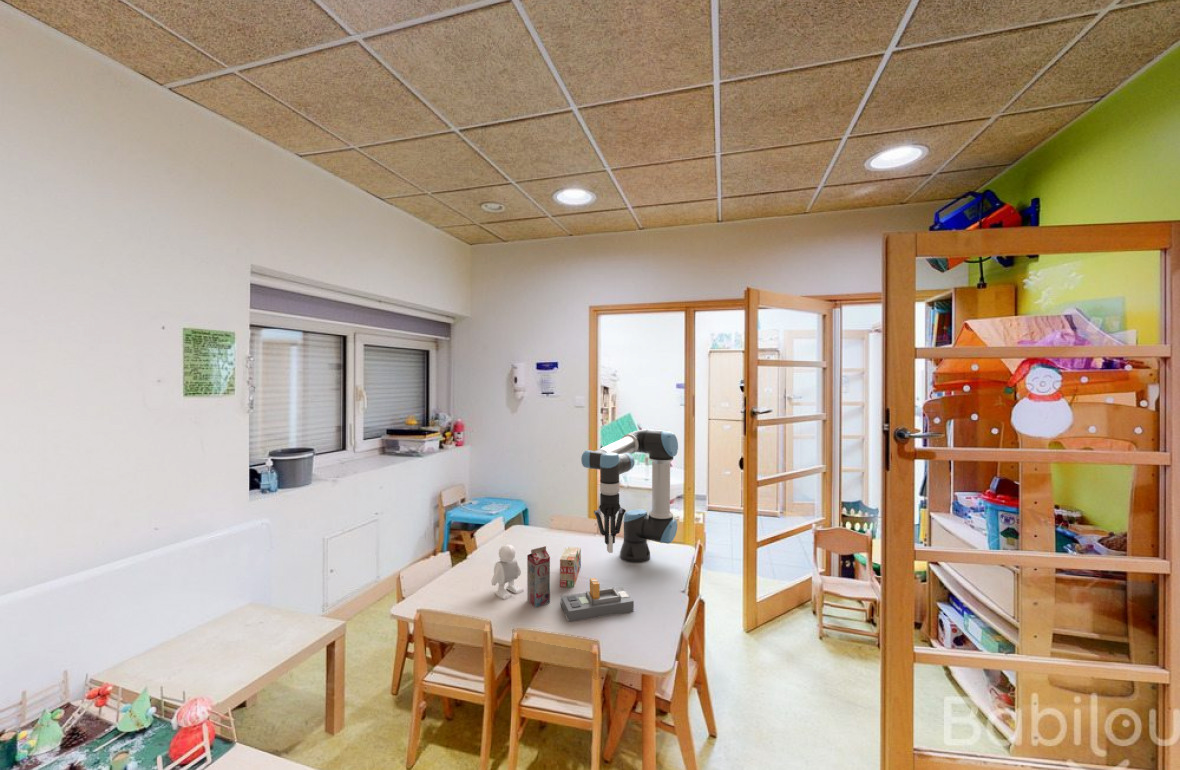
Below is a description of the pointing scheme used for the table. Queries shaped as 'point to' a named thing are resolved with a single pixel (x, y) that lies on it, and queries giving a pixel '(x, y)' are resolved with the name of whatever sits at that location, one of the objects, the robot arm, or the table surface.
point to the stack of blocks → (570, 566)
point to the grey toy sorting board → (596, 604)
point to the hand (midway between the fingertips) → (609, 551)
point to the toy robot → (506, 572)
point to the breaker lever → (594, 588)
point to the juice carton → (538, 577)
